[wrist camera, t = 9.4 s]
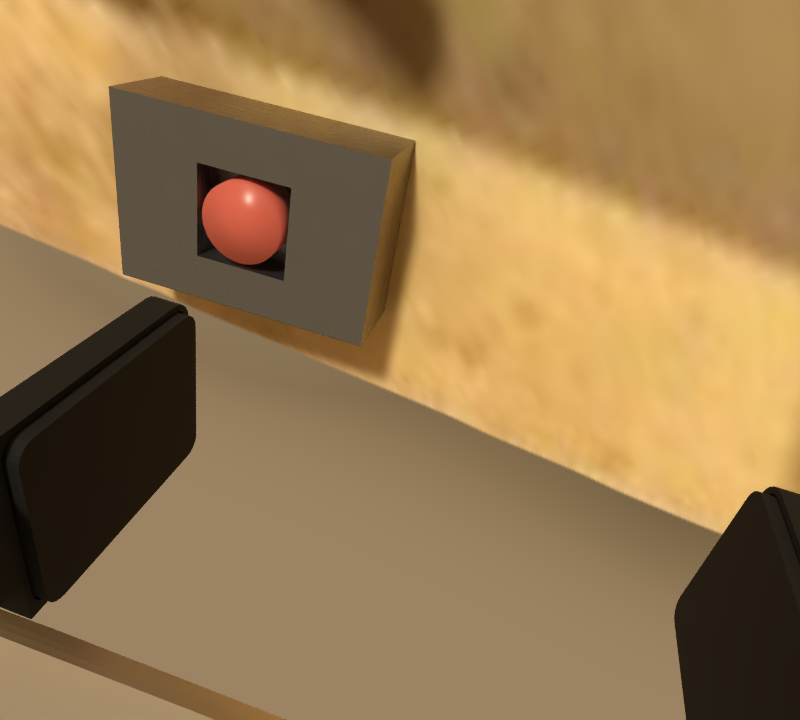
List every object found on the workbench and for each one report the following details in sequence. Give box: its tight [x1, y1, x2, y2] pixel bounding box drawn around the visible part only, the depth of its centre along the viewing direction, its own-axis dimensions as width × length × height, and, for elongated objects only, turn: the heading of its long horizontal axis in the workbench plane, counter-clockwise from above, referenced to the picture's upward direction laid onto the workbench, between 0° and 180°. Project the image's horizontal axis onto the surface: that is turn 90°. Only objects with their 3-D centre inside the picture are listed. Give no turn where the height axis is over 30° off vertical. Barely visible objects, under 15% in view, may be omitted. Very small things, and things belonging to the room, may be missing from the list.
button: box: [202, 174, 291, 265], centre depth 45 cm, size 6×6×3 cm
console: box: [109, 76, 415, 346], centre depth 46 cm, size 20×14×6 cm
